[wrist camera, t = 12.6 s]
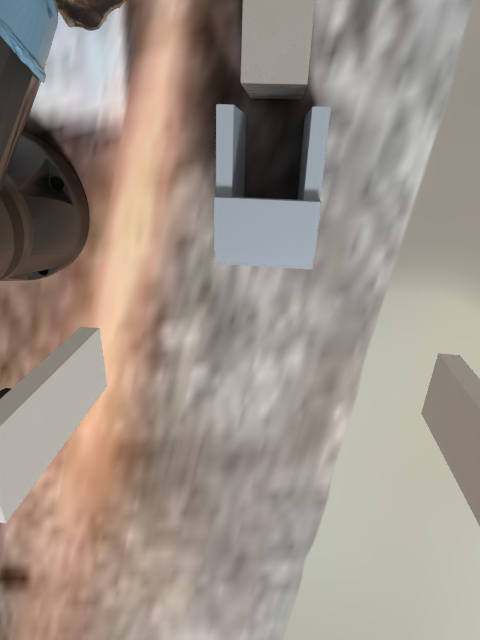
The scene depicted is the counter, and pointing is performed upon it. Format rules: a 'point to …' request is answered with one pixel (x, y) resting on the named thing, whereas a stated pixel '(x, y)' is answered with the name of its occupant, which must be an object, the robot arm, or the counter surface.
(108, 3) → the rock
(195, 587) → the counter surface
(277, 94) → the light grey long block
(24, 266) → the robot arm
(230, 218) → the grey u-shaped block
